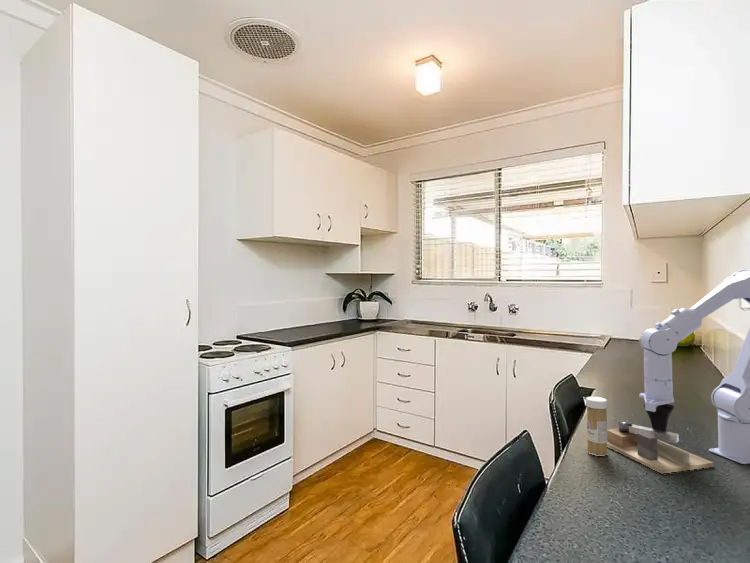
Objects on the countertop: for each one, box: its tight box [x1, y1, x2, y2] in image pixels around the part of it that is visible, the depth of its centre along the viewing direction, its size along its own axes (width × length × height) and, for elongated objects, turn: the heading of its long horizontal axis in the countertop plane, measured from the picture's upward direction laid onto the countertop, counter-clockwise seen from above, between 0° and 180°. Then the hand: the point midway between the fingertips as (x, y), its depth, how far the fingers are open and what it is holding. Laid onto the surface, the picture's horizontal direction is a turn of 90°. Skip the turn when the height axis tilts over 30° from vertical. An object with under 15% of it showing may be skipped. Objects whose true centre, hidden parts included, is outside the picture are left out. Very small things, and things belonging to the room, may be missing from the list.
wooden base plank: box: [607, 427, 715, 474], centre depth 102 cm, size 14×18×6 cm
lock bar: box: [618, 420, 680, 444], centre depth 104 cm, size 12×3×2 cm, turn 42°
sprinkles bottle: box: [585, 396, 609, 455], centre depth 103 cm, size 5×5×13 cm
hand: (659, 434), depth 103 cm, fingers closed
